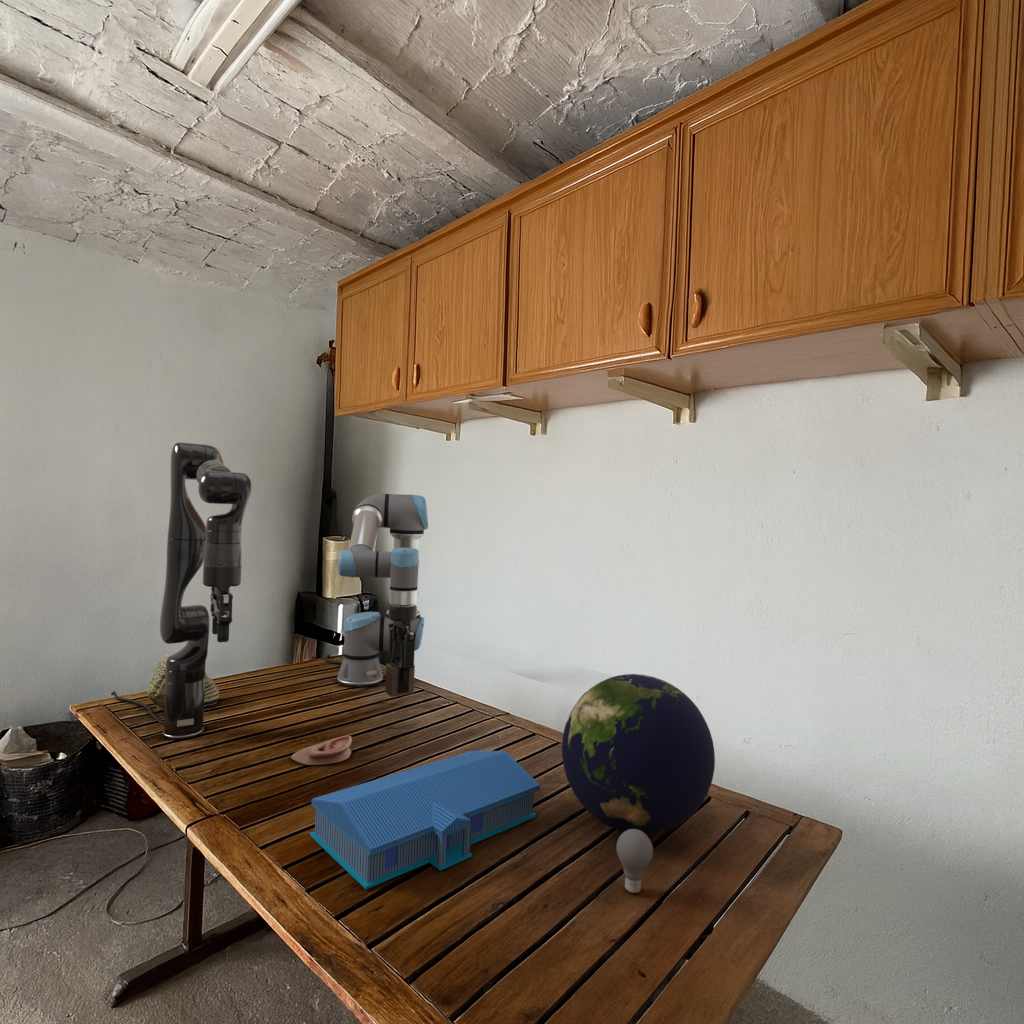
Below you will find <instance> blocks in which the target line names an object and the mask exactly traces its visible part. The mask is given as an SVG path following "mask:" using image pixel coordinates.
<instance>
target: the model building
mask: <svg viewBox="0 0 1024 1024" xmlns="http://www.w3.org/2000/svg"><path fill="white" fill-rule="evenodd" d="M538 791H541V784H540V783H539V782H538V781H537V780H536V779H535V778H534V777H533V776H532V775H531V774H530V773H529V772H527V771H526V769H524V768H523V766H521V764H519V762H517V761H516V760H515V759H514V757H512V756H511V755H510V754H509V753H508V752H507V750H471V751H467V752H464V753H460V754H457V755H454V756H449V757H447V758H444V759H441V760H437V761H434V762H431V763H427V764H423V765H420V766H417V767H414V768H410V769H407V770H403V771H400V772H397V773H394V774H390V775H387V776H384V777H381V778H380V777H379V778H377V779H374V780H371V781H366V782H364V783H360V784H357V785H354V786H350V787H347V788H344V789H339V790H337V791H334V792H330V793H327V794H324V795H319V796H316V797H314V798H311V806H313V807H314V808H315V817H314V831H311V832H310V833H309V836H310V838H312V839H313V840H314V841H315V842H316V843H317V845H319V846H320V847H321V848H322V849H323V850H325V852H326V853H327V854H329V856H330V857H331V858H333V859H334V860H335V861H336V862H337V863H338V864H339V865H340V866H341V867H342V868H343V869H344V870H345V871H346V872H347V874H349V875H350V876H351V877H352V878H353V879H354V880H355V881H356V882H357V883H359V885H361V886H362V887H363V888H364V890H369V889H371V888H373V887H375V886H378V885H381V884H382V883H385V882H388V881H389V880H392V879H394V878H397V877H399V876H402V875H404V874H406V873H408V872H410V871H413V870H416V869H417V868H420V867H423V866H424V865H427V864H429V863H430V864H431V865H432V866H433V867H434V868H436V869H437V870H438V871H440V872H441V871H443V870H445V869H448V868H450V867H452V866H455V865H457V864H459V863H461V862H463V861H465V860H468V859H471V858H473V853H471V852H470V851H471V846H472V845H474V844H476V843H478V842H482V841H484V840H486V839H488V838H490V837H493V836H495V835H497V834H499V833H502V832H505V831H506V830H507V831H508V830H510V829H512V828H513V827H516V826H519V825H520V824H523V823H525V822H527V821H530V820H532V819H535V818H537V817H538V814H537V813H535V812H534V798H535V797H534V796H535V792H538Z"/></svg>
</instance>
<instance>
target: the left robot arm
mask: <svg viewBox="0 0 1024 1024" xmlns="http://www.w3.org/2000/svg"><path fill="white" fill-rule="evenodd" d="M169 470H170V503H169V504H170V505H169V517H168V527H167V541H166V567H165V582H164V591H163V595H162V602H161V603H162V604H161V610H160V617H159V634H160V638H161V640H162V641H163V642H164V644H167V645H168V644H169V645H172V644H180V643H181V644H183V643H186V644H185V645H184V646H183V647H182V648H181V649H180V650H178V651H176V652H174V653H172V654H170V655H171V656H169V657H168V658H167V660H166V674H165V705H164V710H163V720H161V719H160V718H159V717H158V716H157V715H156V714H155V713H154V712H153V711H152V709H151V707H150V706H148V705H146V704H145V703H142V702H140V701H138V700H135V699H130V698H126V697H125V698H124V697H121V696H118V693H117V692H116V691H114V690H113V691H112V692H111V693H110V696H114V698H115V699H116V700H119V701H123V702H128V703H132V704H135V705H138V706H140V707H143V708H145V709H146V710H147V711H148V713H149V715H150V716H151V717H152V718H153V719H154V720H155V721H157V722H159V723H161V724H163V731H162V737H164V738H166V739H169V740H185V739H190V738H191V739H192V738H194V737H197V736H199V735H202V734H203V732H204V730H205V729H204V722H205V721H204V718H205V706H204V693H205V672H206V664H207V663H206V662H207V658H208V653H209V652H208V651H209V641H210V640H209V639H210V631H211V633H212V634H213V635H217V636H216V641H217V642H218V643H227V642H229V641H230V625H231V623H232V622H233V600H234V596H233V595H234V594H232V593H231V592H230V588H231V587H238V586H240V585H241V583H242V564H243V563H242V561H243V552H242V551H243V550H242V527H243V521H244V516H245V513H246V509H247V506H248V503H249V501H250V498H251V495H252V492H253V484H252V483H253V482H252V480H251V478H250V477H249V475H247V473H244V472H239V471H237V472H236V471H232V470H230V469H229V468H228V467H227V466H226V465H225V463H224V460H223V458H222V455H221V452H220V451H219V449H218V448H216V447H215V446H214V445H211V444H204V443H203V444H202V443H195V442H194V443H192V442H182V441H181V442H180V441H178V442H175V443H174V445H172V448H171V452H170V469H169ZM186 480H192V481H193V480H194V481H196V482H197V483H198V488H197V489H198V490H197V491H198V495H199V498H200V499H201V500H202V501H203V502H204V503H206V504H207V503H208V504H211V505H212V504H213V505H231V507H230V509H229V510H228V511H227V512H225V513H220V514H214V515H211V516H208V517H207V519H206V523H205V521H204V520H203V519H202V517H201V515H200V514H199V512H198V511H197V510H196V507H195V506H194V505H193V503H192V500H191V498H190V496H189V494H188V491H187V485H186ZM202 566H203V568H202V569H203V570H202V585H203V586H205V587H209V588H211V589H210V590H211V593H210V609H209V610H210V613H209V610H208V608H207V607H206V606H205V605H203V604H192V605H191V604H190V605H182V604H183V599H184V595H185V592H186V590H187V588H188V586H189V584H190V583H191V581H192V579H193V578H194V577H195V576H196V574H197V573H198V571H200V569H201V567H202ZM210 615H211V617H212V621H211V617H210Z"/></svg>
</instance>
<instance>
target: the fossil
mask: <svg viewBox="0 0 1024 1024" xmlns="http://www.w3.org/2000/svg"><path fill="white" fill-rule="evenodd" d="M171 655H172V654H165V655H164V656H163V657H162V658H161V659H160V660H159V662H158V663H157V666H156V667H155V669H154V670H153V672H152V675H151V677H150V680H149V684H148V688H147V697H148V699H149V700H150V701H152V703H153V704H154V706H155V711H158V712H159V711H162V712H163V711H164V705H165V674H166V660H167V658H168V657H169V656H171ZM220 698H221V696H220V690H219V688H218V686H217V685H216V683H215V682H214V681H213V679H212V678H211V677H209V675H208V674H207V672H206V671H205V693H204V707H207V706H213V705H215V704H217V703H218V701H219V699H220Z"/></svg>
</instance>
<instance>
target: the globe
mask: <svg viewBox="0 0 1024 1024" xmlns="http://www.w3.org/2000/svg"><path fill="white" fill-rule="evenodd" d="M715 754H716V753H715V746H714V740H713V737H712V733H711V730H710V727H709V726H708V723H707V721H706V719H705V717H704V715H703V714H702V712H701V710H700V709H699V707H698V706H697V705H696V703H694V701H693V700H692V699H691V698H690V697H689V696H688V695H687V694H686V693H685V692H683V691H682V690H681V689H679V688H678V687H676V686H675V685H674V684H672V683H670V682H668V681H666V680H664V679H661V678H658V677H656V676H652V675H647V674H643V673H627V674H619V675H615V676H611V677H608V678H606V679H604V680H602V681H600V682H597V683H596V684H595V685H593V686H592V687H590V688H589V689H588V690H587V691H585V692H584V693H583V694H582V695H581V696H580V697H579V699H578V700H577V701H576V703H575V704H574V705H573V707H572V709H571V710H570V713H569V715H568V717H567V720H566V722H565V725H564V729H563V733H562V742H561V758H562V764H563V769H564V773H565V776H566V779H567V782H568V784H569V787H570V788H571V790H572V792H573V794H574V795H575V797H576V799H577V800H578V801H579V802H580V804H581V805H582V806H583V808H584V809H585V810H586V811H587V812H589V813H590V815H592V816H593V817H594V818H596V820H598V821H600V822H601V823H602V824H604V825H605V826H607V827H609V828H612V829H614V830H616V831H619V832H622V833H623V832H625V831H627V830H629V829H637V830H640V831H642V832H644V833H645V834H646V835H647V836H649V835H657V834H661V833H664V832H668V831H671V830H673V829H675V828H677V827H678V826H680V825H682V824H684V823H685V822H686V821H688V820H689V819H690V818H691V817H692V816H693V815H694V814H695V813H696V812H697V811H698V810H699V808H700V807H701V806H702V804H703V803H704V801H705V800H706V797H707V796H708V794H709V791H710V789H711V785H712V783H713V779H714V773H715V767H716V755H715Z"/></svg>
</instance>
